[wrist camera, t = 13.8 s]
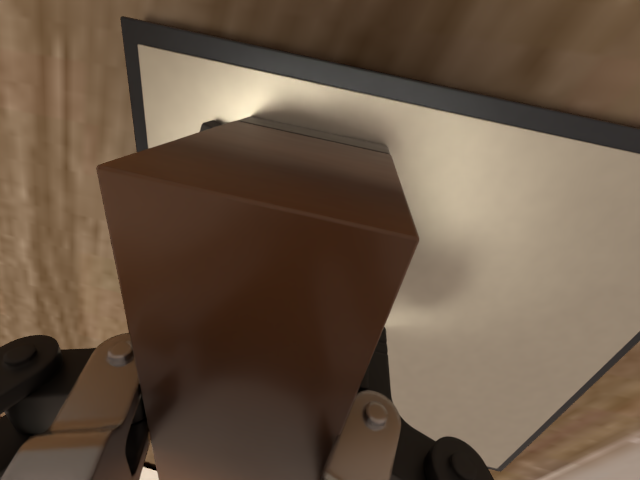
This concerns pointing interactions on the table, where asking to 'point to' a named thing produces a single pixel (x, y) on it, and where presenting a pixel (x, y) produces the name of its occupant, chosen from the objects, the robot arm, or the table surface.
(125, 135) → the table surface
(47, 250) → the table surface
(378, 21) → the table surface
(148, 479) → the paper
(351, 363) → the eraser
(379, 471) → the robot arm
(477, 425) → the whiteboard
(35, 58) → the table surface
